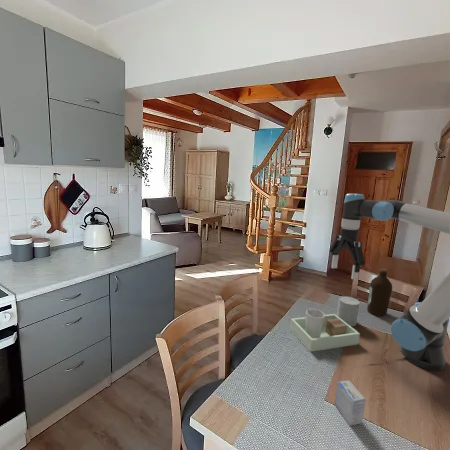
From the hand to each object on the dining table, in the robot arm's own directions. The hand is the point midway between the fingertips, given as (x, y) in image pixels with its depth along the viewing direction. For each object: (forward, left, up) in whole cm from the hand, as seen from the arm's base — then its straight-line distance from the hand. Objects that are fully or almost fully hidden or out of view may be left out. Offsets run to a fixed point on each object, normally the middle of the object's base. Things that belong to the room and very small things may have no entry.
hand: (343, 273), depth 127 cm
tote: (-5, +11, -29) cm, 31 cm away
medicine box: (-42, +28, -29) cm, 58 cm away
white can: (+4, -9, -29) cm, 31 cm away
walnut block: (-5, +4, -28) cm, 29 cm away
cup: (-5, +16, -28) cm, 33 cm away
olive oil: (+10, -34, -29) cm, 46 cm away
